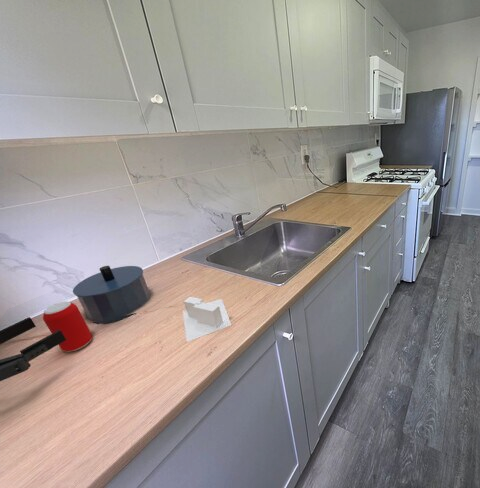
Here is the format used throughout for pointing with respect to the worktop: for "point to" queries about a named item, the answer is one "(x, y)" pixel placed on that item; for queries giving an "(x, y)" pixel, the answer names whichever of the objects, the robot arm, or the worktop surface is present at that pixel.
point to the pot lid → (107, 281)
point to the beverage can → (68, 325)
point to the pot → (116, 303)
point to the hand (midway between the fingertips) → (47, 327)
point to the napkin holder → (204, 317)
